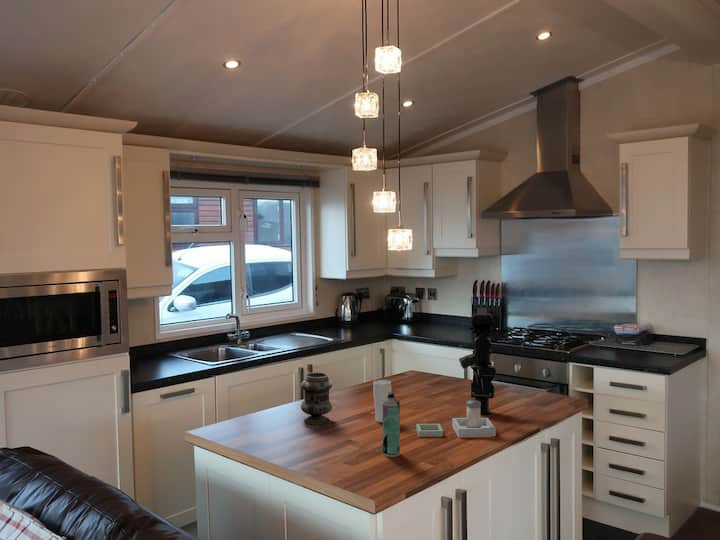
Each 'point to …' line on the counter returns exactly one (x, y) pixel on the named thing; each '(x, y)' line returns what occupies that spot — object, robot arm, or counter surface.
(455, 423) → the parts tray
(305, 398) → the apothecary jar
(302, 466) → the counter surface
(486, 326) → the robot arm
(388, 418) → the spray can
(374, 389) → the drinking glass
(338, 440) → the counter surface
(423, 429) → the holder ring
